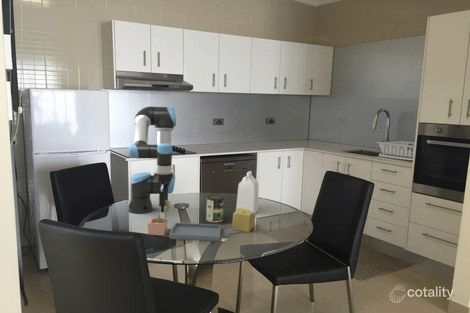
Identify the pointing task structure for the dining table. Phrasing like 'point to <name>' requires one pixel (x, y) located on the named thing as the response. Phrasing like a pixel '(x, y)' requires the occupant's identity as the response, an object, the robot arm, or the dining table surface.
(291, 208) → the dining table surface
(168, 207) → the light wooden bar
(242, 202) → the milk
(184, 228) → the slate tray
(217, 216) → the coffee can
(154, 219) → the pink open cubby
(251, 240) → the dining table surface
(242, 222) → the cheese
